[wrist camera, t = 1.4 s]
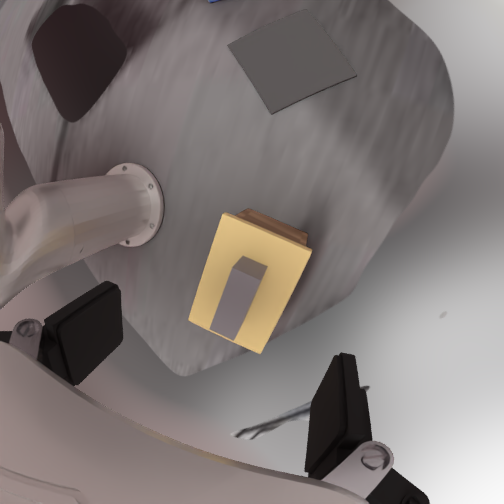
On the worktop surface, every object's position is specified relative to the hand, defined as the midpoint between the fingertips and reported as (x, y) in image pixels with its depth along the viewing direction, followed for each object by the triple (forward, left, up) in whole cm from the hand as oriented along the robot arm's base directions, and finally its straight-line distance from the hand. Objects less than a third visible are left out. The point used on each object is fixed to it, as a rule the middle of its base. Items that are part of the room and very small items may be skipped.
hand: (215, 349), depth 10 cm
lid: (-5, -3, -17) cm, 18 cm away
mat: (+11, +19, -25) cm, 33 cm away
